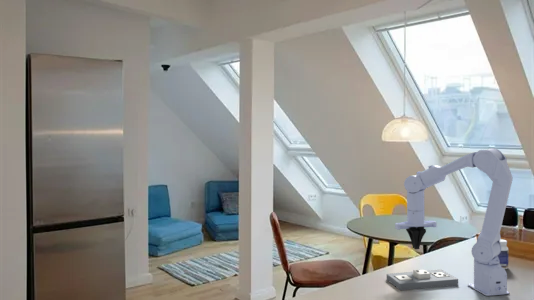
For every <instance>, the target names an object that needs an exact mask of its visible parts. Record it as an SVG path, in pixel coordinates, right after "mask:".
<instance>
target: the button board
mask: <svg viewBox="0 0 534 300" xmlns="http://www.w3.org/2000/svg"><path fill="white" fill-rule="evenodd" d="M426 271H427V272H429V273H430V278H428V279H417V278H416V277H414V276H413V271H406V272H405V271H404V272H403V271H402V272H393V273H386V280H387V281H388V282H389V283H391V284H392V285H393V286H394V287H395V286H396V287H395V288H396V289H398V290H400V291H405V290H418V289H430V288H441V287H452V286H453V287H454V286H459V279H458V278H457V277H455V276H453V275H452V274H450V273H448V272H447V271H445V270H443V269H430V270H429V269H428V270H426ZM437 272H443V273H444V274H446V275H448V276H449V277H440V278H437V277H435V276H433V275H432V274H431V273H437ZM398 275H407V276H408V277H410V278H411V279H412V280H404V281H399V280H398V279H397V278H395V276H398Z"/></svg>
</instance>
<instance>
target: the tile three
mask: <svg viewBox="0 0 534 300" xmlns="http://www.w3.org/2000/svg"><path fill="white" fill-rule="evenodd" d="M431 274H432V275H433V276H435V277H437V278H440V277H449V276H448V275H446V274H444V273H443V272H437V273H431Z"/></svg>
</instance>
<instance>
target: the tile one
mask: <svg viewBox="0 0 534 300" xmlns="http://www.w3.org/2000/svg"><path fill="white" fill-rule="evenodd" d="M395 278H397V279H398V280H399V281H404V280H412V279H411V278H410V277H408V276H407V275H398V276H395Z"/></svg>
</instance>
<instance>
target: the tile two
mask: <svg viewBox="0 0 534 300" xmlns="http://www.w3.org/2000/svg"><path fill="white" fill-rule="evenodd" d="M427 271H428V270H426V269H415V270H414V269H413V270H412V272H413V276H414V277H416V278H417V279H428V278H430V273H429V272H427Z"/></svg>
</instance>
